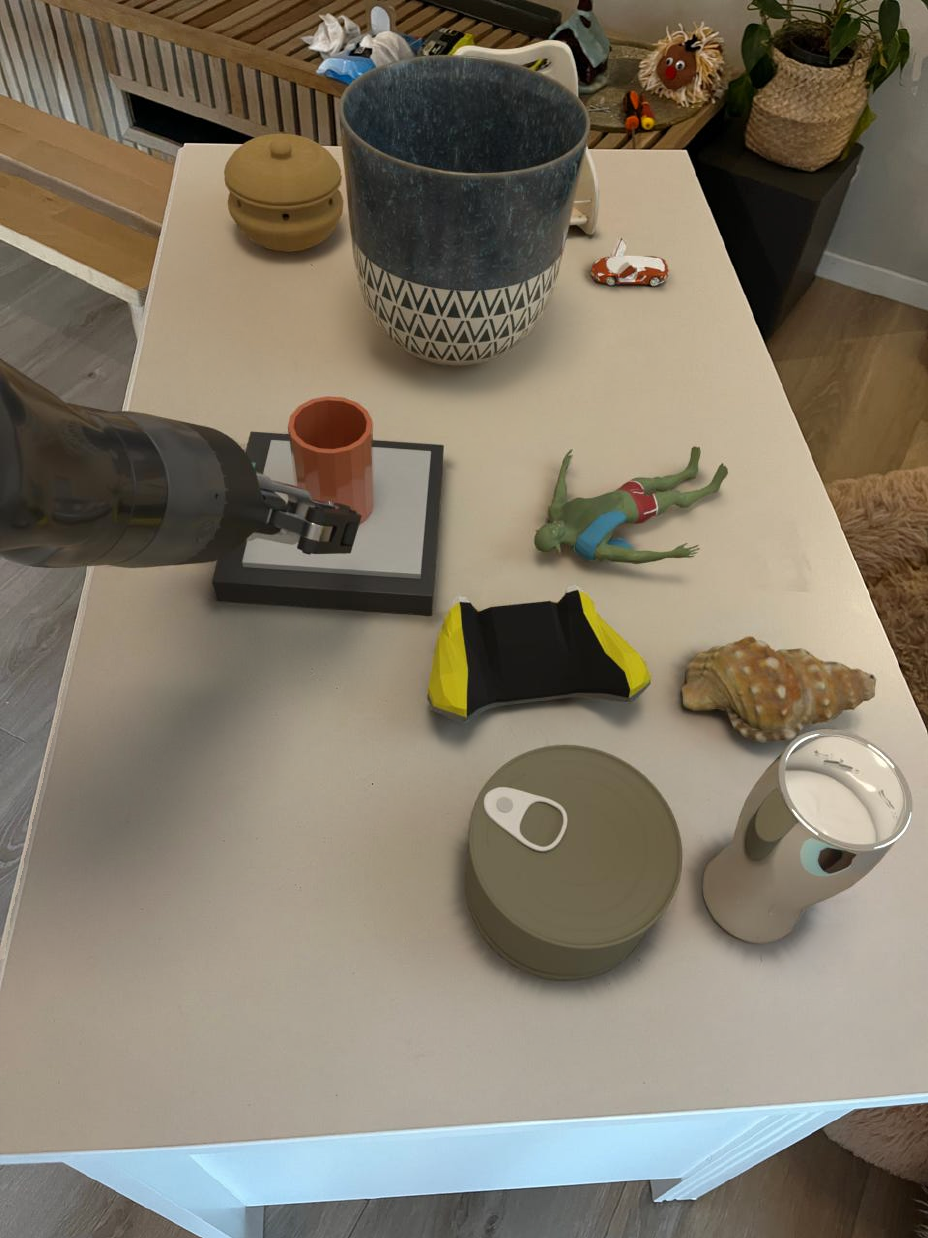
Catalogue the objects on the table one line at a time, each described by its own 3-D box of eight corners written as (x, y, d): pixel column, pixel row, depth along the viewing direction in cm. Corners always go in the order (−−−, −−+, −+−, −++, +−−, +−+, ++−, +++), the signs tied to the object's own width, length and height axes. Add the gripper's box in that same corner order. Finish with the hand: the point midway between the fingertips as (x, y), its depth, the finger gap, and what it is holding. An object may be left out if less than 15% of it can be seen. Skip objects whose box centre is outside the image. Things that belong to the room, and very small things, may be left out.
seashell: (754, 670, 71) (865, 618, 63) (775, 771, 67) (895, 729, 60) (666, 647, 66) (774, 588, 59) (683, 755, 63) (800, 706, 55)
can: (613, 1023, 52) (639, 990, 46) (426, 924, 55) (430, 882, 49) (680, 846, 58) (710, 799, 53) (511, 765, 61) (523, 712, 56)
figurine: (784, 500, 71) (604, 584, 64) (772, 539, 74) (598, 625, 67) (649, 410, 81) (480, 476, 74) (643, 448, 83) (479, 515, 76)
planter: (578, 396, 84) (625, 165, 67) (369, 420, 81) (363, 183, 63) (521, 274, 95) (548, 49, 78) (335, 291, 92) (321, 58, 74)
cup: (293, 528, 69) (282, 449, 62) (303, 473, 72) (294, 393, 66) (370, 533, 69) (367, 455, 62) (377, 479, 72) (375, 399, 66)
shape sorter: (566, 189, 106) (593, 18, 92) (595, 240, 100) (629, 64, 86) (399, 201, 102) (400, 24, 88) (419, 254, 96) (423, 74, 82)
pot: (341, 205, 101) (337, 111, 93) (348, 266, 94) (344, 170, 86) (233, 206, 100) (219, 111, 92) (232, 269, 93) (216, 171, 85)
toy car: (587, 261, 97) (592, 234, 95) (661, 264, 98) (668, 236, 95) (593, 290, 94) (598, 262, 92) (669, 293, 95) (676, 265, 92)
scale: (216, 601, 68) (210, 576, 65) (254, 452, 77) (249, 425, 75) (431, 615, 68) (433, 591, 66) (442, 465, 78) (444, 439, 75)
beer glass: (691, 835, 59) (767, 717, 47) (799, 848, 59) (903, 733, 47) (697, 944, 55) (782, 845, 43) (813, 958, 55) (930, 863, 43)
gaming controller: (645, 726, 64) (607, 612, 69) (663, 683, 59) (622, 565, 65) (432, 753, 61) (411, 633, 67) (435, 711, 57) (412, 586, 63)
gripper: (300, 462, 44) (397, 479, 60) (51, 378, 47) (207, 416, 63) (259, 608, 45) (365, 587, 61) (18, 519, 48) (179, 521, 64)
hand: (285, 500), depth 62 cm, fingers open, 8 cm apart
